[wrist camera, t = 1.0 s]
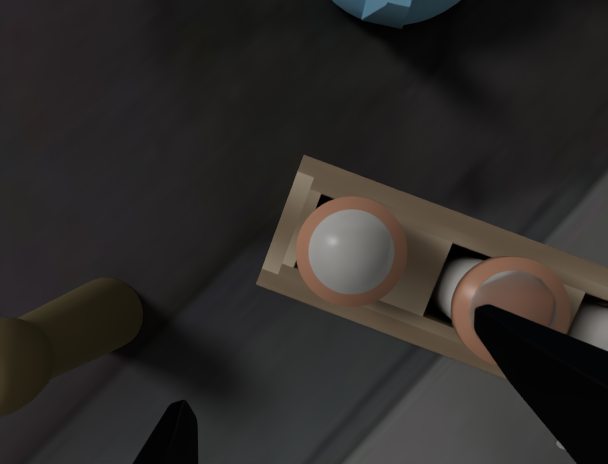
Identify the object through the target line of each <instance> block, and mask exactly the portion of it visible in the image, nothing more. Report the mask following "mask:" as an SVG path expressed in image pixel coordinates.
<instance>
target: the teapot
mask: <svg viewBox="0 0 608 464" xmlns="http://www.w3.org/2000/svg"><path fill="white" fill-rule="evenodd" d="M332 1H333V2H334V3H335V4H336V5H337V6H339V7H340V8H342V9H343V10H344V11H346V12H348V13H350V14H351V15H353V16H355V17H357V18H360V19H361V20H363V21H367V22H372V23H376V24H381V25H385V26H390V27H395V28H399V29H402V27H403V25H407V24H412V23H417V22H421V21H424V20H427V19H430V18H432V17H434V16H436V15H438V14H440V13H442V12H444V11H446V10H448V9H449V8H451V7H452V6H454V5H455V4H457V3H458V2H459V1H460V0H332Z"/></svg>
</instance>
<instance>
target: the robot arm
mask: <svg viewBox="0 0 608 464" xmlns="http://www.w3.org/2000/svg"><path fill="white" fill-rule="evenodd" d="M474 330H475V332H476V334H477V336H478V337H479V339H480V340H481V342H482V343H483V345H484V346H485V348H486V349H487V350H488V352H489V353H490V355H491V356H492V358H493V359H494V361H495V362H496V364H497V365H498V367H499V368H500V370H501V371H502V372H503V374H504V375H505V377H506V378H507V379H508V381H509V382H510V383H511V384H512V386H513V387H514V388H515V389H516V391H517V392H518V393H519V394H520V395H521V397H522V398H523V399H524V400H525V401H526V403H527V404H528V405H529V406H530V407H531V409H532V410H533V411H534V412H535V414H536V415H537V416H538V417H539V418H540V420H541V421H542V422H543V423H544V424H545V426H546V427H547V428H548V429H549V430H550V432H551V433H552V434H553V435H554V436H555V438H556V439H557V440H558V441H559V443H560V444H561V445H562V446H563V447H564V449H565V450H566V451H567V452H568V453H569V455H570V456H571V457H572V458H573V459H574V461H575V462H576V463H577V464H608V351H606V350H604V349H601V348H599V347H596V346H594V345H591V344H589V343H586V342H584V341H581V340H579V339H576V338H574V337H571V336H569V335H566V334H564V333H561V332H559V331H556V330H554V329H551V328H549V327H546V326H544V325H541V324H539V323H536V322H534V321H531V320H529V319H526V318H524V317H521V316H519V315H516V314H514V313H511V312H509V311H506V310H504V309H501V308H499V307H496V306H494V305H491V304H485V305H481V306H478V307H476V308H475V311H474ZM133 464H198V424H197V418H196V416H195V414H194V412H193V411H192V409H191V407H190V406H189V404H188V403H187V401H185V400H181V401H178V402H174V403H172V404H170V405H169V406H168V408H167V410H166V411H165V413H164V414H163V416H162V418H161V419H160V421H159V422H158V424H157V425H156V427H155V429H154V430H153V432H152V433H151V435H150V437H149V438H148V440H147V441H146V443H145V445H144V446H143V448H142V449H141V451H140V453H139V454H138V456H137V457H136V459H135V461H134V462H133Z"/></svg>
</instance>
